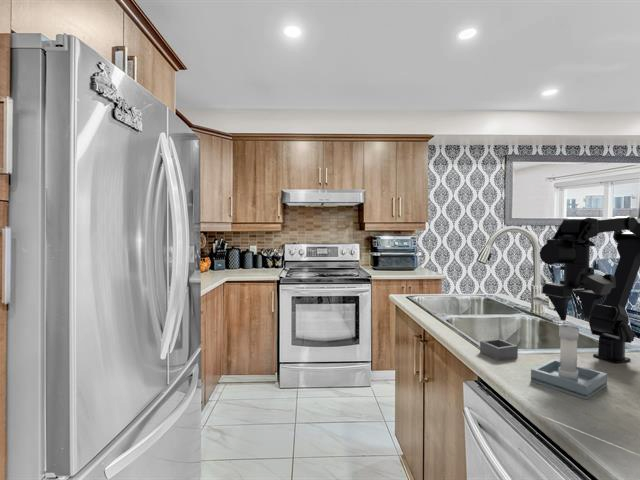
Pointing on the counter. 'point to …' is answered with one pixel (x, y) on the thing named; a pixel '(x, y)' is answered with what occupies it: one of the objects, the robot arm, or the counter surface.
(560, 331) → the white rounded column
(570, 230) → the robot arm
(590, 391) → the parts tray
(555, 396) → the counter surface
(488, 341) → the light bulb socket
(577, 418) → the counter surface
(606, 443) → the counter surface
